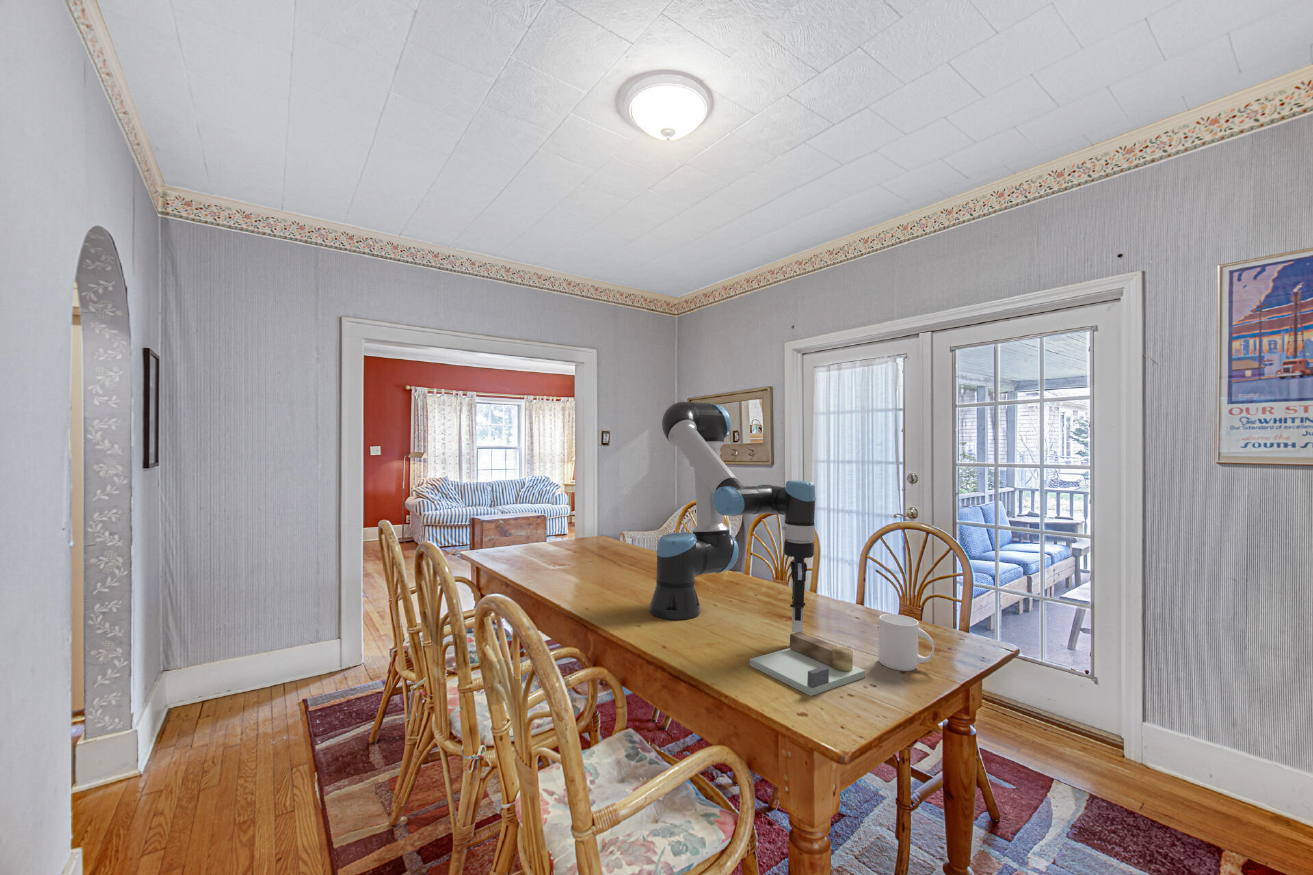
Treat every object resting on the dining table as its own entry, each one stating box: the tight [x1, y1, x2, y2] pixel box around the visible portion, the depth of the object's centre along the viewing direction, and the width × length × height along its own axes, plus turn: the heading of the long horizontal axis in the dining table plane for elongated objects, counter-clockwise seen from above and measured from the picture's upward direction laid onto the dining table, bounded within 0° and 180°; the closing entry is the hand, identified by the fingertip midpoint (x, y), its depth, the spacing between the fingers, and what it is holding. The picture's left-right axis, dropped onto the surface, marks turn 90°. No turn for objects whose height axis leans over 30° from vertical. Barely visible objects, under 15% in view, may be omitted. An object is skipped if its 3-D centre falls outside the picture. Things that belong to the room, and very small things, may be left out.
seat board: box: [749, 647, 866, 697], centre depth 126 cm, size 18×18×2 cm
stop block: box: [807, 666, 829, 688], centre depth 115 cm, size 1×5×3 cm, turn 124°
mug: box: [877, 613, 935, 672], centre depth 130 cm, size 9×12×11 cm
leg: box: [789, 632, 854, 671], centre depth 129 cm, size 16×4×4 cm, turn 34°
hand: (797, 631), depth 143 cm, fingers closed
